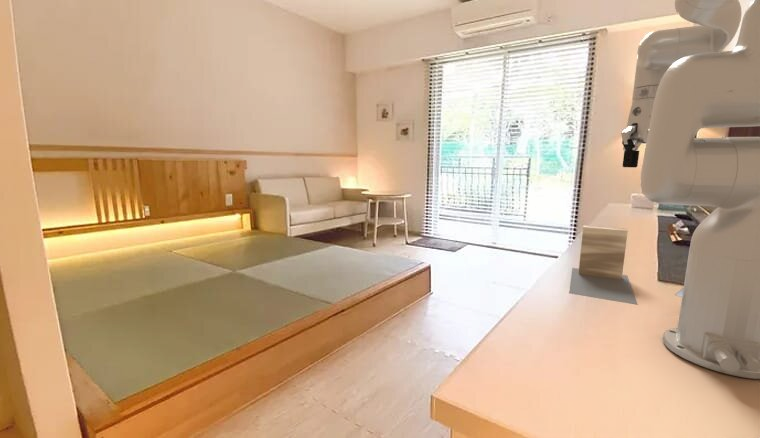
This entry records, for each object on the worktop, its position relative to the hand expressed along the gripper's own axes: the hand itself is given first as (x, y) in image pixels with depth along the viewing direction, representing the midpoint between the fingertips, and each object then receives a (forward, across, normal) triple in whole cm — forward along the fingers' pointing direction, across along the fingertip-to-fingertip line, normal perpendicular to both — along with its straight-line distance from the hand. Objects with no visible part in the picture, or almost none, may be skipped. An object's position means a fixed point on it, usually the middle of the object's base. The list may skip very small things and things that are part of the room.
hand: (642, 167), depth 88 cm
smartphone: (+28, -3, -17) cm, 32 cm away
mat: (+27, -18, -5) cm, 33 cm away
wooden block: (+26, -12, 0) cm, 29 cm away
